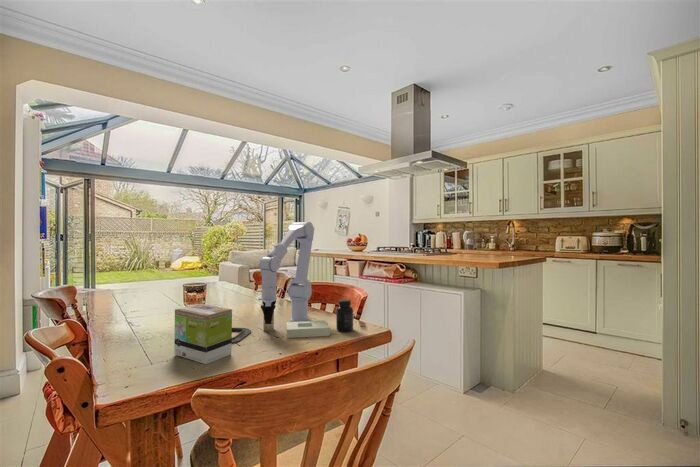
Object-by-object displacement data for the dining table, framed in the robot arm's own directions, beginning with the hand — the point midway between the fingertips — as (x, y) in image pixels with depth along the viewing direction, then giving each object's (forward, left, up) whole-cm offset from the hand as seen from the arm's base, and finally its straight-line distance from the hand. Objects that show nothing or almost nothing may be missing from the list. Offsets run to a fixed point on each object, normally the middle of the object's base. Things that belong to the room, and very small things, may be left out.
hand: (268, 320), depth 132 cm
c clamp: (+7, -16, -4) cm, 18 cm away
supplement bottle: (+5, +30, -4) cm, 31 cm away
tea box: (+25, -19, -4) cm, 32 cm away
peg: (0, 0, -4) cm, 4 cm away
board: (+6, +15, -4) cm, 17 cm away
